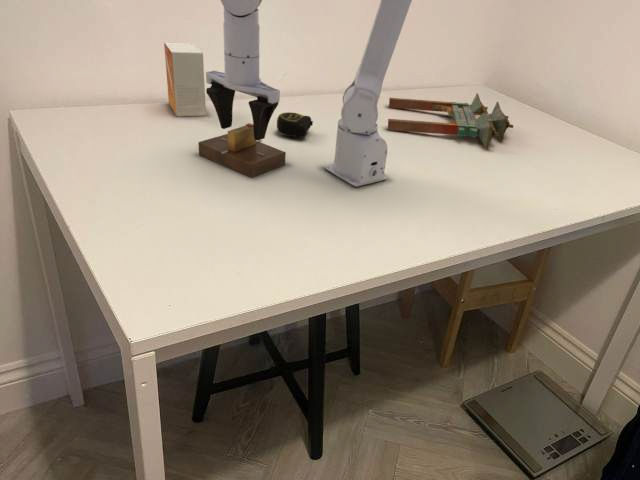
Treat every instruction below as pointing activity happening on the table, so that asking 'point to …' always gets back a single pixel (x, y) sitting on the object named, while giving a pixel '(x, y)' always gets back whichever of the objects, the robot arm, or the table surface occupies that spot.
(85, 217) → the table surface
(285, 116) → the tape measure
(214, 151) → the plate
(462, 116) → the miniature gate
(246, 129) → the thumb turn
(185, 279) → the table surface
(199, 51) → the small box
